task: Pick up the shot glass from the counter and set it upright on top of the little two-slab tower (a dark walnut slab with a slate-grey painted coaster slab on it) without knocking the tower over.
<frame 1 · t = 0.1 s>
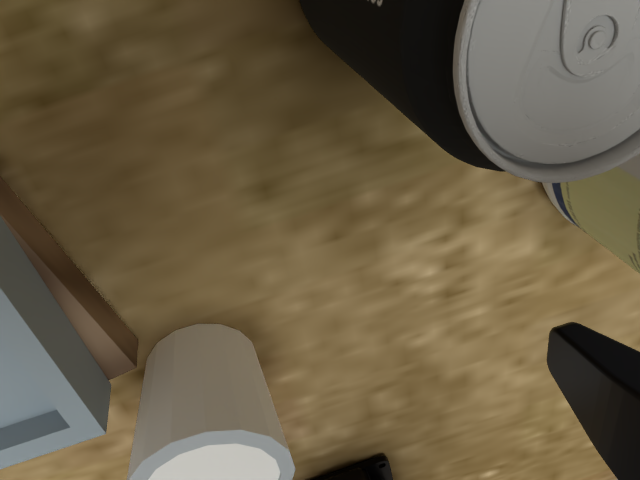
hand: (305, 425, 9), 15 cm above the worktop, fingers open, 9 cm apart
shot glass: (202, 362, 27), on the worktop
supplement tub: (637, 105, 25), on the worktop
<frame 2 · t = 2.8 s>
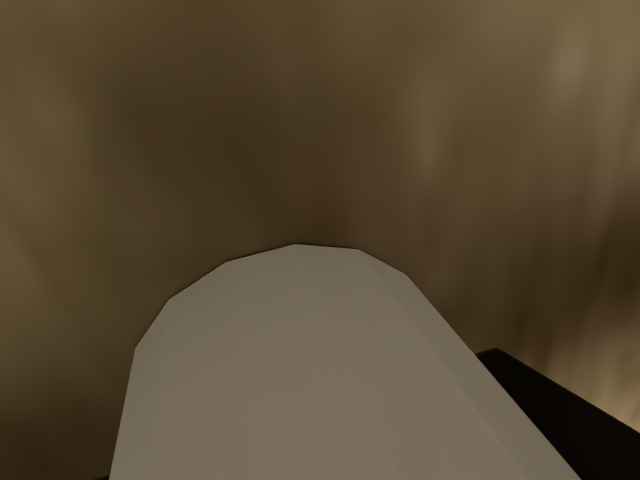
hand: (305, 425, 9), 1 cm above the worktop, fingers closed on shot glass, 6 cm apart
shot glass: (288, 364, 10), on the worktop, touching gripper
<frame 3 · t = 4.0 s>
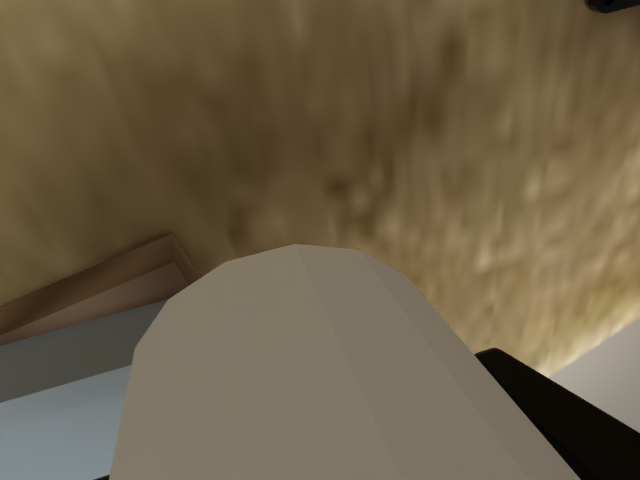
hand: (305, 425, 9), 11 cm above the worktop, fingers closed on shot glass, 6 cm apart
slab top: (99, 435, 21), point 2 cm above the worktop, touching slab bottom
shot glass: (287, 364, 10), point 10 cm above the worktop, touching gripper
slab bottom: (109, 385, 23), on the worktop, touching slab top
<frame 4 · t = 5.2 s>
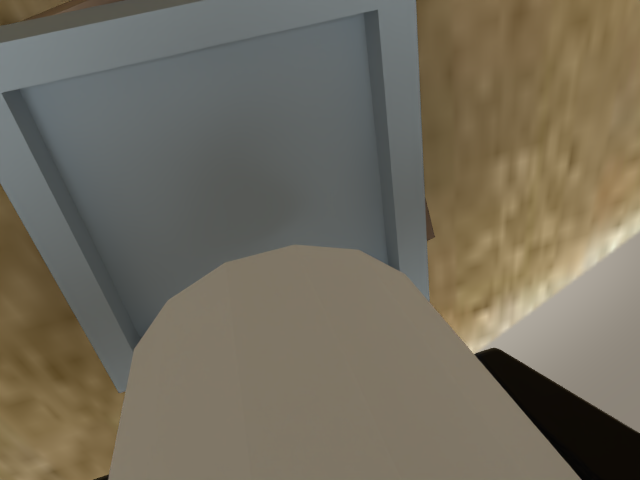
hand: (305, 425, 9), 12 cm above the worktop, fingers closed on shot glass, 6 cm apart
slab top: (232, 171, 17), point 2 cm above the worktop, touching slab bottom
shot glass: (288, 365, 10), point 11 cm above the worktop, touching gripper
slab bottom: (225, 142, 19), on the worktop, touching slab top
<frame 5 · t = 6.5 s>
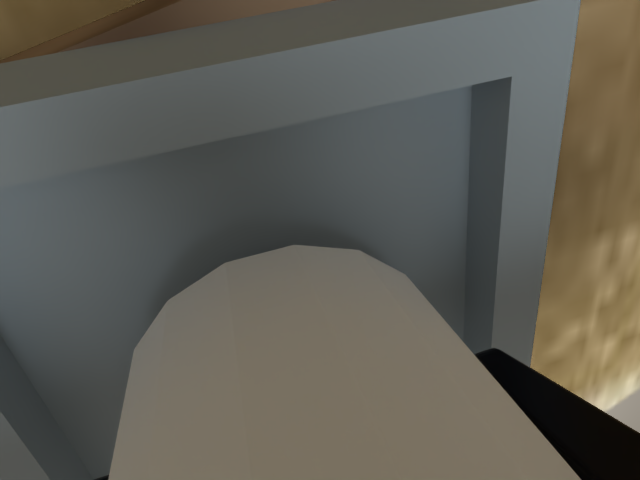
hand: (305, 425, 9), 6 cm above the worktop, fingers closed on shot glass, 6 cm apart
slab top: (251, 281, 12), point 2 cm above the worktop
shot glass: (288, 365, 10), point 4 cm above the worktop, touching gripper
slab bottom: (247, 229, 14), on the worktop
when the fingers open (6 cm above the worktop, at t = 7.4 s): shot glass drops 1 cm, resting on slab top.
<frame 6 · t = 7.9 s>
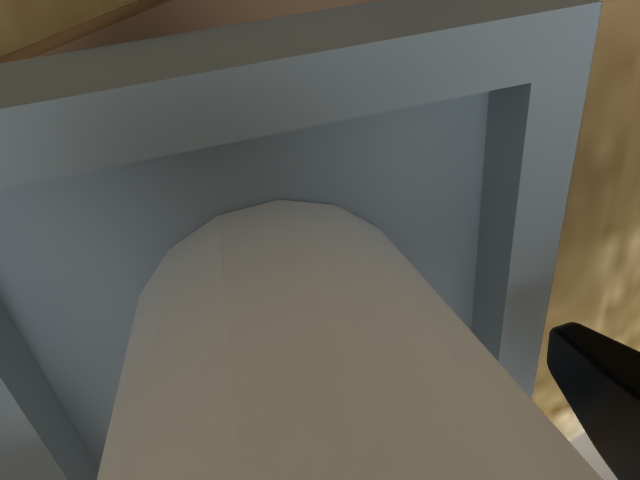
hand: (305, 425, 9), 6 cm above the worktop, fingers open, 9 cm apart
slab top: (263, 279, 12), point 2 cm above the worktop, touching shot glass, slab bottom
shot glass: (277, 314, 11), point 3 cm above the worktop, touching slab top
slab bottom: (250, 224, 14), on the worktop, touching slab top
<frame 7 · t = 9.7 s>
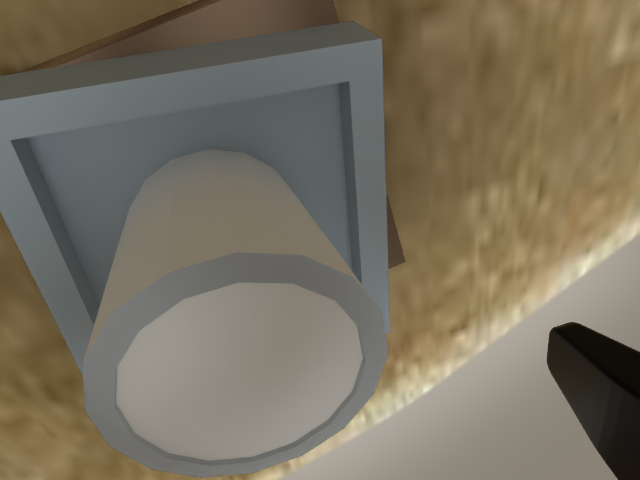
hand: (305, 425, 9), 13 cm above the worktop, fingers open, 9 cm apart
slab top: (214, 207, 19), point 1 cm above the worktop, touching shot glass, slab bottom
shot glass: (216, 225, 18), point 3 cm above the worktop, touching slab top
slab bottom: (210, 173, 21), on the worktop, touching slab top
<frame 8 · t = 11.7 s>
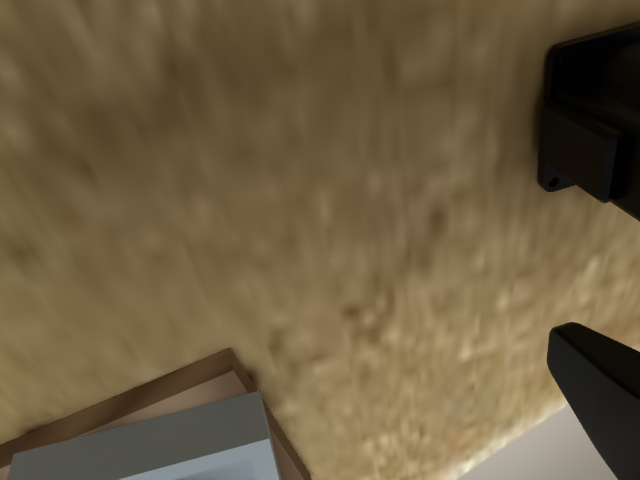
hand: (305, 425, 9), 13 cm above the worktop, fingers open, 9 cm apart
slab bottom: (171, 446, 29), on the worktop, touching slab top
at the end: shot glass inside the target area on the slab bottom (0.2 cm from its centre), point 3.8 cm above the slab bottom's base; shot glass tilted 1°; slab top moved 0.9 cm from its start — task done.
